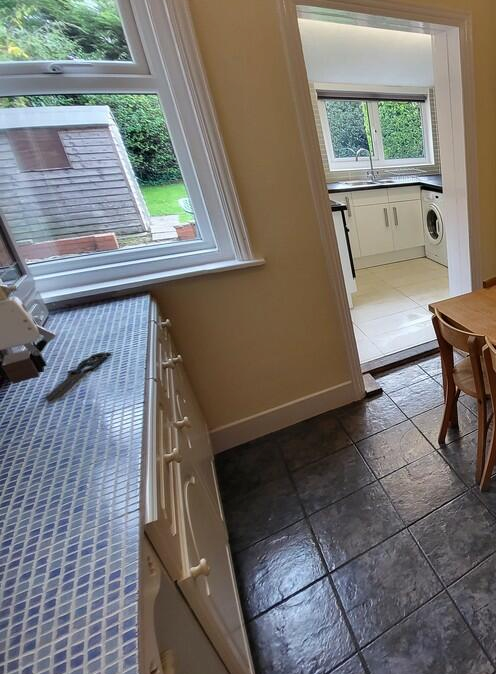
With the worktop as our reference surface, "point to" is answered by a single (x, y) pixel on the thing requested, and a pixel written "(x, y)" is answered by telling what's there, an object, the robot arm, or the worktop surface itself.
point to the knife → (62, 392)
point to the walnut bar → (20, 366)
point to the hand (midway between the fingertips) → (26, 373)
